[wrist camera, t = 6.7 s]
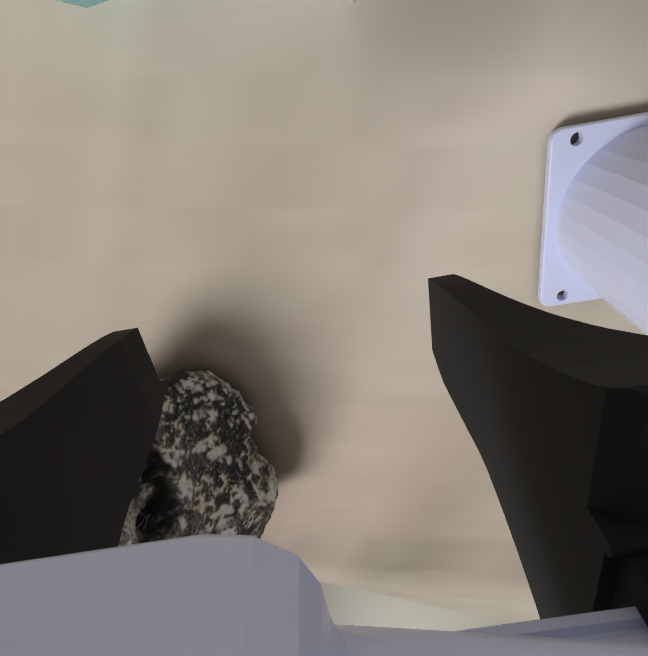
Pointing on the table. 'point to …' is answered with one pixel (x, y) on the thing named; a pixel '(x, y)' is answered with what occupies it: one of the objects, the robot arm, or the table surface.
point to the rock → (201, 467)
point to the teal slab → (83, 2)
